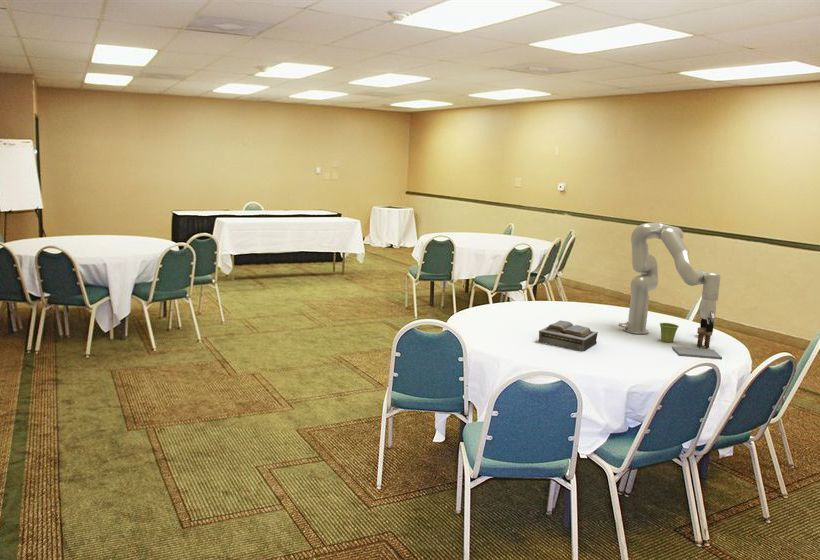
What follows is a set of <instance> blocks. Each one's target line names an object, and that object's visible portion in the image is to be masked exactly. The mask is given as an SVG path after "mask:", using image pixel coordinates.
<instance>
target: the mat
mask: <svg viewBox="0 0 820 560" xmlns="http://www.w3.org/2000/svg"><path fill="white" fill-rule="evenodd" d="M672 348H673V349H672ZM671 349H672V350H673V351H674V353H676V354H677V355H678V356H679V357H689V356H690V357H689V358H705V359H717V360H723V357H722V355H720V354H719V353H718V352H717V351H716V350H715V349H710V348H709V349H707V348H699V347H698V348H695V347H684V346H674V345H673V346H671Z"/></svg>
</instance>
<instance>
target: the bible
mask: <svg viewBox="0 0 820 560" xmlns="http://www.w3.org/2000/svg"><path fill="white" fill-rule="evenodd" d="M598 334H599V332H597V331H593V330H591V328H589V327H587V326H582V325H579V324H575V325H574V324H573V323H572V322H570V321H566V320H561V319H560V320H558V321H556V322H554V323H551V324H549V325H548V326H546V327H544V328H542V329H541V330H538V341H537V342H538V343H540V342H541V343H542V344H546V345H550V346H557V347H559V348H560V347H561V348H568V349H571V350H575V351H579V352H583V353H584V352H585V351H588V350H589V349H590V348H592V347H595V346H596V345H597V343H598V342H597V338H598Z"/></svg>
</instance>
